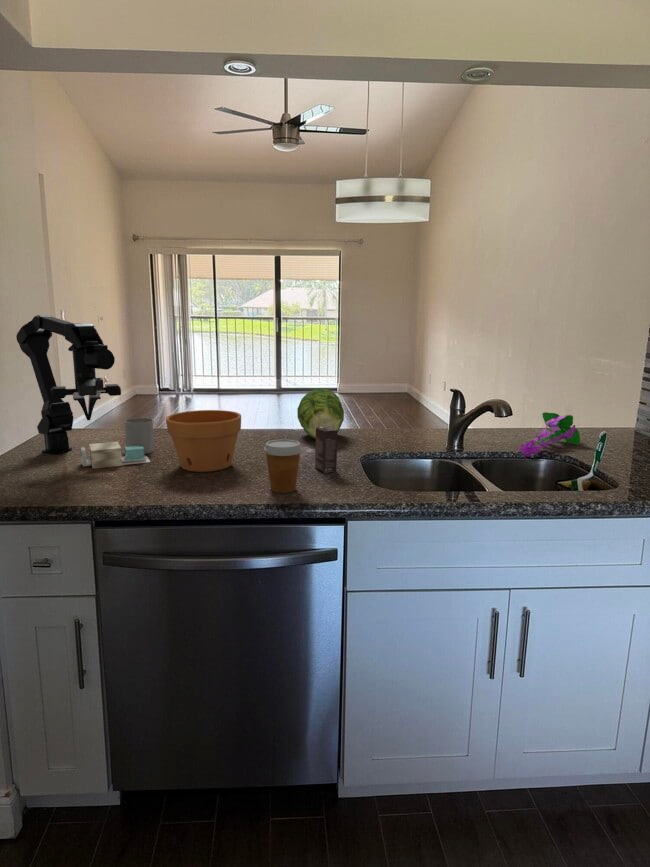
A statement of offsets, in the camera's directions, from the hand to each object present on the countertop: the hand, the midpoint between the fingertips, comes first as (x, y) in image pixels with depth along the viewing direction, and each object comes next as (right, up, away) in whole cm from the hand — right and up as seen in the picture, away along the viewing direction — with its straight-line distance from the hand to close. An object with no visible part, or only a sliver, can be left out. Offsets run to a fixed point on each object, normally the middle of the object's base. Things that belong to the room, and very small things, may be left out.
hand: (88, 420), depth 172 cm
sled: (+8, -12, -1) cm, 14 cm away
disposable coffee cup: (+59, -18, -23) cm, 66 cm away
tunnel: (+6, -13, -2) cm, 14 cm away
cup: (+11, -10, +13) cm, 20 cm away
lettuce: (+69, -6, +34) cm, 77 cm away
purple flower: (+145, -10, +23) cm, 147 cm away
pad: (+13, -12, +2) cm, 18 cm away
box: (+70, -15, -5) cm, 72 cm away
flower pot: (+35, -13, -2) cm, 38 cm away
